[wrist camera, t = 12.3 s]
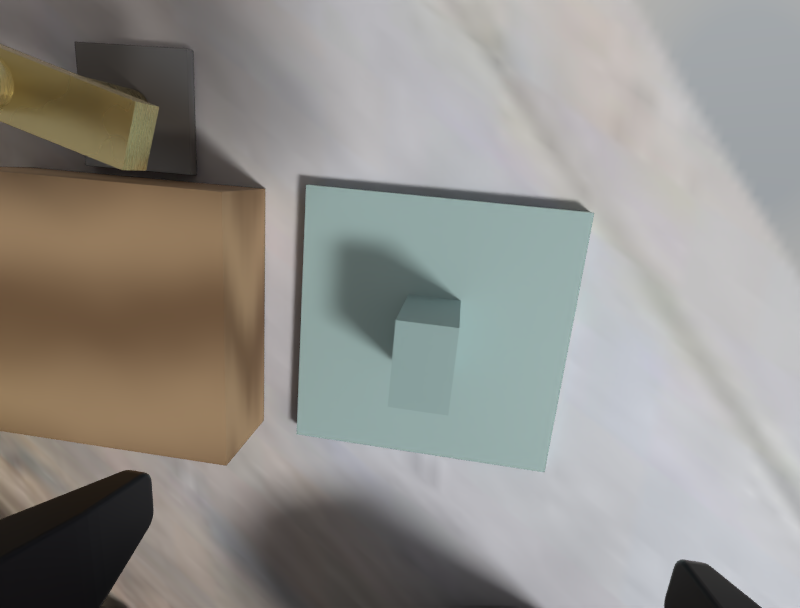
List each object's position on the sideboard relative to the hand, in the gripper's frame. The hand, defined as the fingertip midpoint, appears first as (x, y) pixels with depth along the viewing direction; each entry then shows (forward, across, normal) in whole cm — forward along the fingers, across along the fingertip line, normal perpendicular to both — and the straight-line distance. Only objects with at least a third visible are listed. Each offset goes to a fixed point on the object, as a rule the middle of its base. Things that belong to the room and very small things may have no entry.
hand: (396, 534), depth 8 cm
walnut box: (+12, +12, -2) cm, 17 cm away
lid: (+12, 0, 0) cm, 12 cm away
